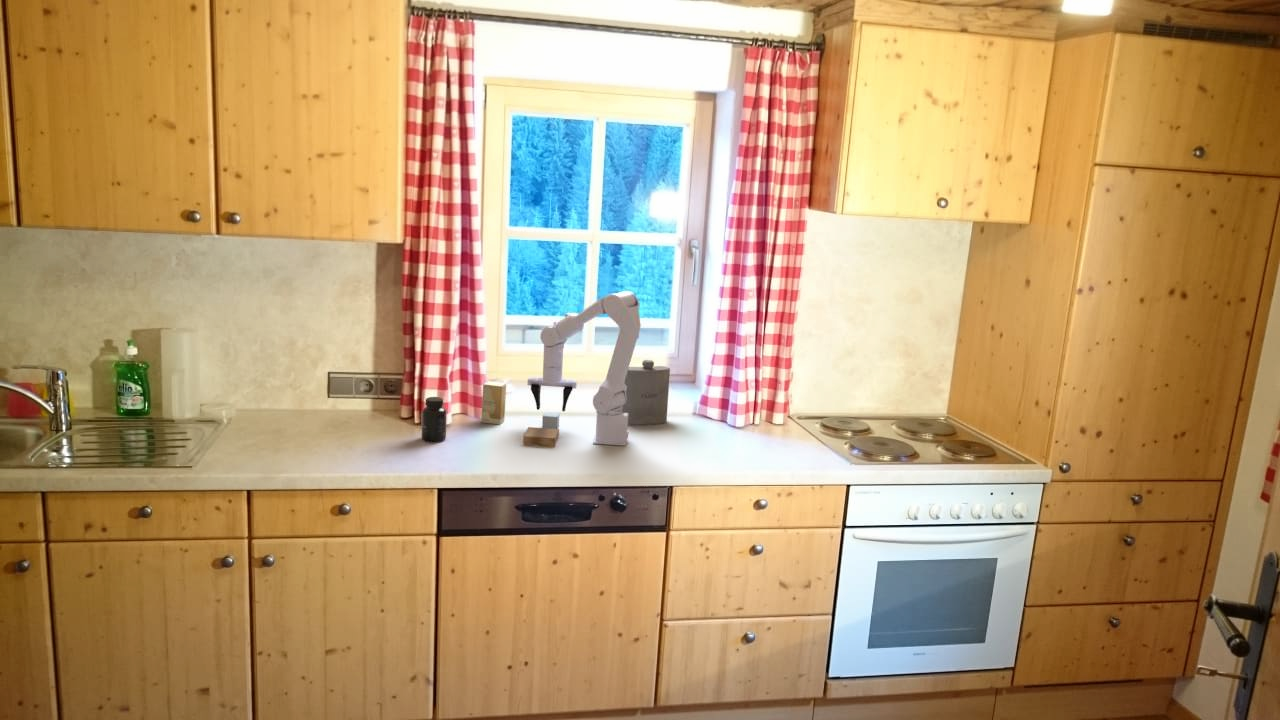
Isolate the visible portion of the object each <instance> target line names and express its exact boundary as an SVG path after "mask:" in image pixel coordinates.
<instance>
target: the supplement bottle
mask: <svg viewBox="0 0 1280 720" xmlns="http://www.w3.org/2000/svg"><path fill="white" fill-rule="evenodd" d="M443 406H444V399H443V398H442V397H441V396H430V397H426V398H425V407H424V408H423V409H422V410H421V440H422V441H423V442H426V443H430V442H431V443H432V444H435V443H436V442H437V443H442V442H444V441H445V440H446V438H447V410H446V408H445V407H443ZM434 442H435V443H434Z"/></svg>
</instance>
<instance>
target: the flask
mask: <svg viewBox="0 0 1280 720" xmlns="http://www.w3.org/2000/svg"><path fill="white" fill-rule="evenodd" d="M654 365H655V362H654V361H653V359H652V360H651V359H644V360H643V361H642V366H629V368H628V371H627V375H626V378H625V381H624V383H625V385H626V386H627V389H626V397H627V399H626V403H625V404H624V405H623V406H622V412H624V413H628V424H629V425H628V426H649V425H648V424H653V425H661V424H660V423H662V424H665V423H667V420H668V419H667V418H668V407H669V403H668V402H669V392H670V391H669V390H670V376H671V375H670V373H671V372H670V371H671V368H669V367H668V366H665V365H664V366H663V365H655V366H654Z"/></svg>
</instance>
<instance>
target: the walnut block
mask: <svg viewBox="0 0 1280 720" xmlns="http://www.w3.org/2000/svg"><path fill="white" fill-rule="evenodd" d="M559 433H560V429H559V428H558V429H550V428H542V427H533V426H531V427H529V426H528V427H527V429H526V430H525V433H524V434H523V444H524V445H523V444H522V445H523V446H534V445H538V446H540V447H550V446H553V448H555V447H556V445H557V443H558V440H559V438H560V436H559V435H560V434H559ZM556 442H557V443H556ZM538 446H537V447H538Z"/></svg>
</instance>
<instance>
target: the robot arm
mask: <svg viewBox="0 0 1280 720" xmlns="http://www.w3.org/2000/svg"><path fill="white" fill-rule="evenodd" d="M640 305H641V303H640V301H639V299H638V298H637V296H636V294H635V293H633V292H632V291H629V290H623V291H622V292H617V293H609V294H607V295H606V296H603V297H601V298H599V299H598V300H596V301H595V302H594V303H592V304H591V305H589V306H588V307H586V308H585V309H584V310H582V311H581V312H579V313H575V312H567V313H566V314H564V317H563V318H562V319H560V320H559V321H554V322H553V325H552V326H546V327H544V328H543V329H542V330H541V332H540V336H539V337H540V341H541V343H542V344H543V358H542V359H543V361H542V362H543V365H542V367H543V368H542V377H528V378H527V386H530V391H531V393H532V395H533V398H534V401H535V406H536V410H537V411H538V410H540V409H541V389H542V387H555V388H556V387H558V388H563V390H562V407H561V409H562V410H561V412H565V411H566V408H567V403H568V400H569V398H570V395H571V393H572V391H573V389H575V390H576V389H577V383H578V381H577V380H571V379H565V378H563V359H564V348H565V343H567V341H568V340H569V339H571V337H573V336H574V335H576V334H578V333H579V332H581V331H583V330H584V325H585V324H586V323H588V322H590V321H591V320H593V319H595V318H596V317H598V316H600V315H605V314H606V315H608V316H609V318H611V320H612V321H613V322H614V323H616V325H617V326H618V328H619V333H618V335H617V339H616V342H615V345H614V350H613V353H612V356H611V360H610V362H609V367H608V370H607V375H606V376H605V379H604V381H603V382H602V383H601V384H600V386H599V388H598V391H597V392H596V394H594V396H593V397H592V405H593V407H594V410H595V411H596V422H595V423H596V424H595V426H596V427H595V434H594V439H593V441H592V444H595V445H609V446H611V445H612V446H627V442H628V441H627V440H628V439H629V431H628V430H629V429H628V427H629V425H628V413H624V412H622V406H623V405H624V404H625V403H626V399H627V397H626V389H627V386H626V385H625V383H624V381H625V378H626V375H627V371H628V368H629V367H630V365H631V360H632V357H633V355H634V351H635V347H636V343H637V340H638V337H639V334H640V330H641V325H642V324H641V318H640V310H639V308H640Z"/></svg>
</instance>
